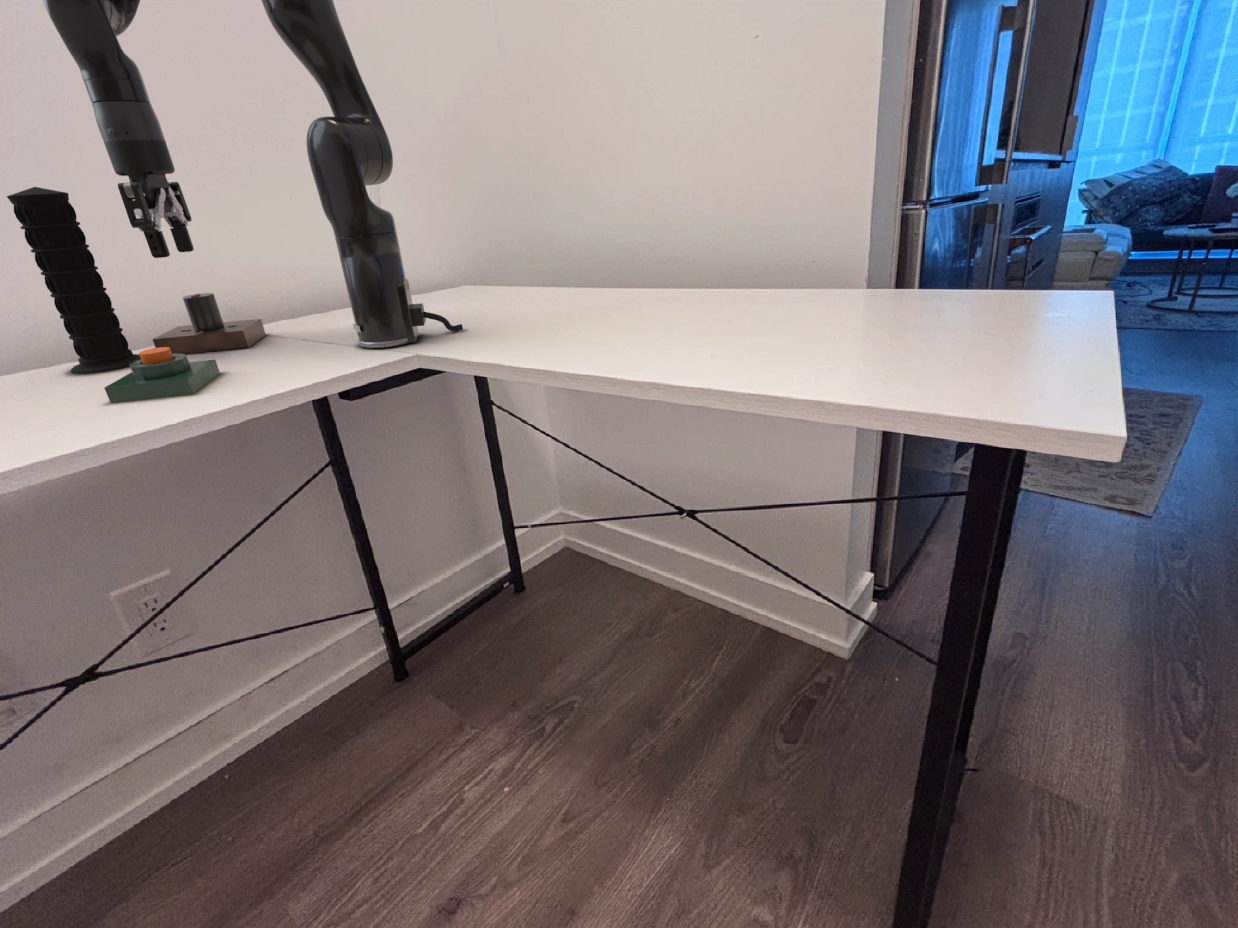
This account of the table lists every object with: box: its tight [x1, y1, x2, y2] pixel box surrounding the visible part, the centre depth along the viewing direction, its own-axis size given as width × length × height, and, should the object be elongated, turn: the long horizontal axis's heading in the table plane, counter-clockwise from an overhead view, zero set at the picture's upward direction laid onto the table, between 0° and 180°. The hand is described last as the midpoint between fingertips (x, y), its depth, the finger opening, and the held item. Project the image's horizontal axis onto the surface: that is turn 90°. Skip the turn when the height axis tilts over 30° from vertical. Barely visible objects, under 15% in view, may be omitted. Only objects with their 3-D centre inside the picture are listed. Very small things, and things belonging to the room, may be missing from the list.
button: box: [138, 347, 174, 365], centre depth 85 cm, size 4×4×2 cm
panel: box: [152, 318, 267, 355], centre depth 109 cm, size 14×10×3 cm
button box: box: [103, 354, 221, 404], centre depth 86 cm, size 10×10×4 cm
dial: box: [182, 292, 224, 331], centre depth 107 cm, size 5×5×6 cm
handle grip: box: [6, 186, 141, 376], centre depth 95 cm, size 10×26×10 cm
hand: (174, 254), depth 98 cm, fingers open, 8 cm apart
